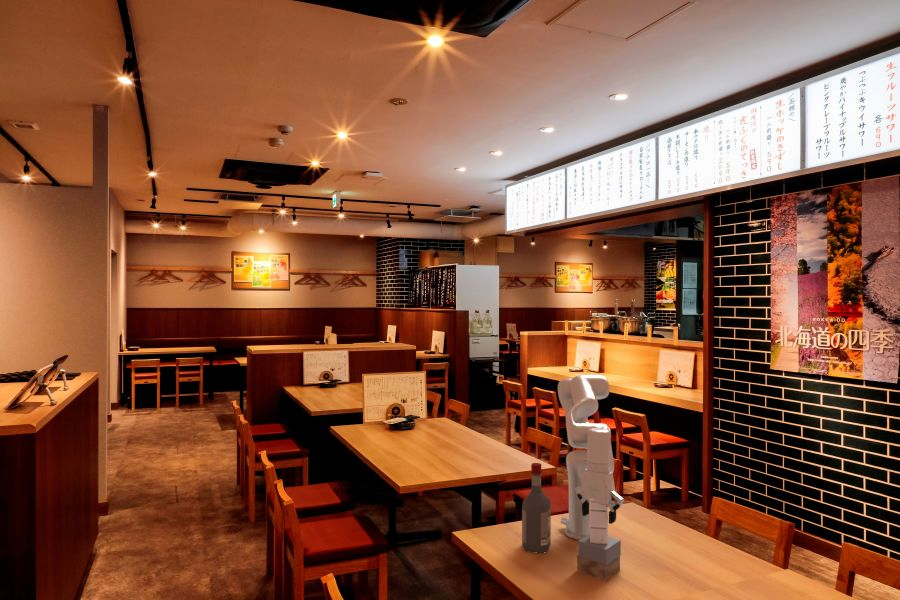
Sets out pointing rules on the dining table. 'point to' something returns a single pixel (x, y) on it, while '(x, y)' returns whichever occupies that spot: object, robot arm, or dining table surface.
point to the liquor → (536, 516)
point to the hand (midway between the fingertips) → (598, 518)
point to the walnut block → (598, 568)
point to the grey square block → (599, 550)
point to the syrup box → (598, 522)
